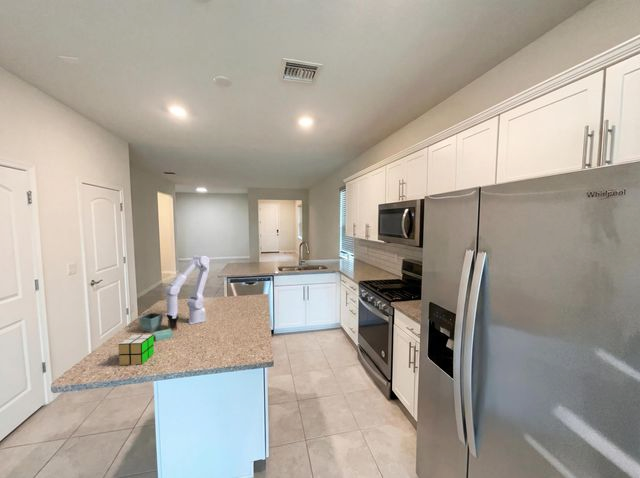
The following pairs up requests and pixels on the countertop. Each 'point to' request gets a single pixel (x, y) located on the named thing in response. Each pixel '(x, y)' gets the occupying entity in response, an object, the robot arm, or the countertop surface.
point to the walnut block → (170, 326)
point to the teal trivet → (163, 335)
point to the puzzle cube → (136, 349)
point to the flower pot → (151, 322)
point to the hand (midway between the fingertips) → (172, 326)
